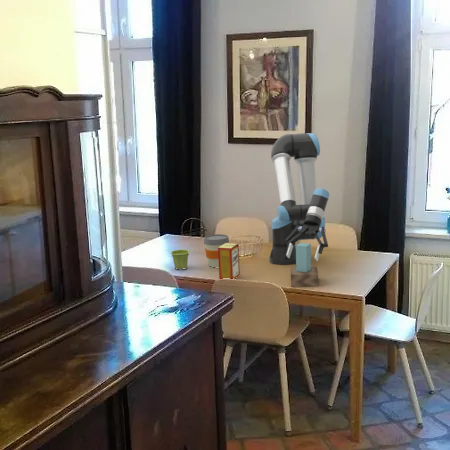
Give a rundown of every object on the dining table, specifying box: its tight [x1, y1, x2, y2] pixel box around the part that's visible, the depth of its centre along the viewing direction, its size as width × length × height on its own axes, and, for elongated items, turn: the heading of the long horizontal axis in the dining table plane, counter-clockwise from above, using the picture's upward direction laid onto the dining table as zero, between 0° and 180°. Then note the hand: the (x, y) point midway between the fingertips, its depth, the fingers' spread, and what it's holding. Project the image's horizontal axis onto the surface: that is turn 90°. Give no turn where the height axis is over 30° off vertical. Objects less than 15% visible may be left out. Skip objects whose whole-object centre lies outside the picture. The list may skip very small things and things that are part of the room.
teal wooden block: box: [295, 242, 312, 272], centre depth 286 cm, size 5×5×12 cm
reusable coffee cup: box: [203, 233, 230, 268], centre depth 322 cm, size 12×13×15 cm
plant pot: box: [170, 249, 190, 270], centre depth 321 cm, size 9×9×9 cm
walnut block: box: [290, 266, 319, 288], centre depth 288 cm, size 12×12×6 cm
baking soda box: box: [218, 242, 241, 279], centre depth 300 cm, size 10×6×16 cm
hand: (301, 258), depth 284 cm, fingers open, 13 cm apart
